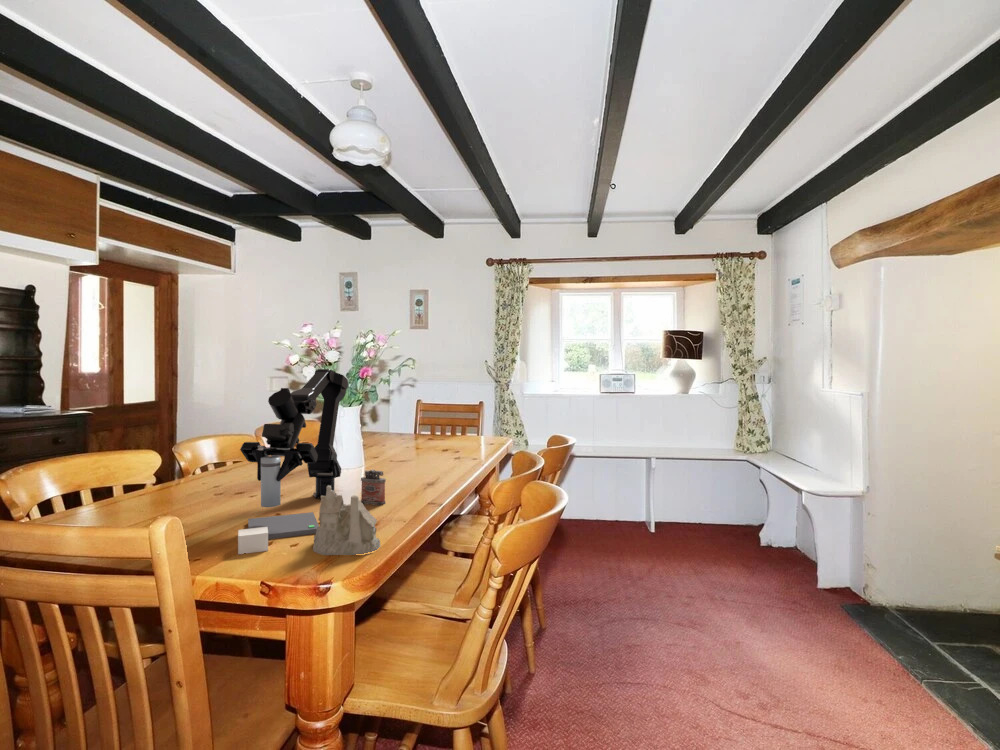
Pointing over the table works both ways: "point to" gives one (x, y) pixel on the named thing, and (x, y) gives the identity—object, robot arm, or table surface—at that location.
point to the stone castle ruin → (344, 527)
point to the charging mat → (274, 530)
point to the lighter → (373, 488)
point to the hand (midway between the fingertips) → (268, 480)
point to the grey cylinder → (270, 481)
